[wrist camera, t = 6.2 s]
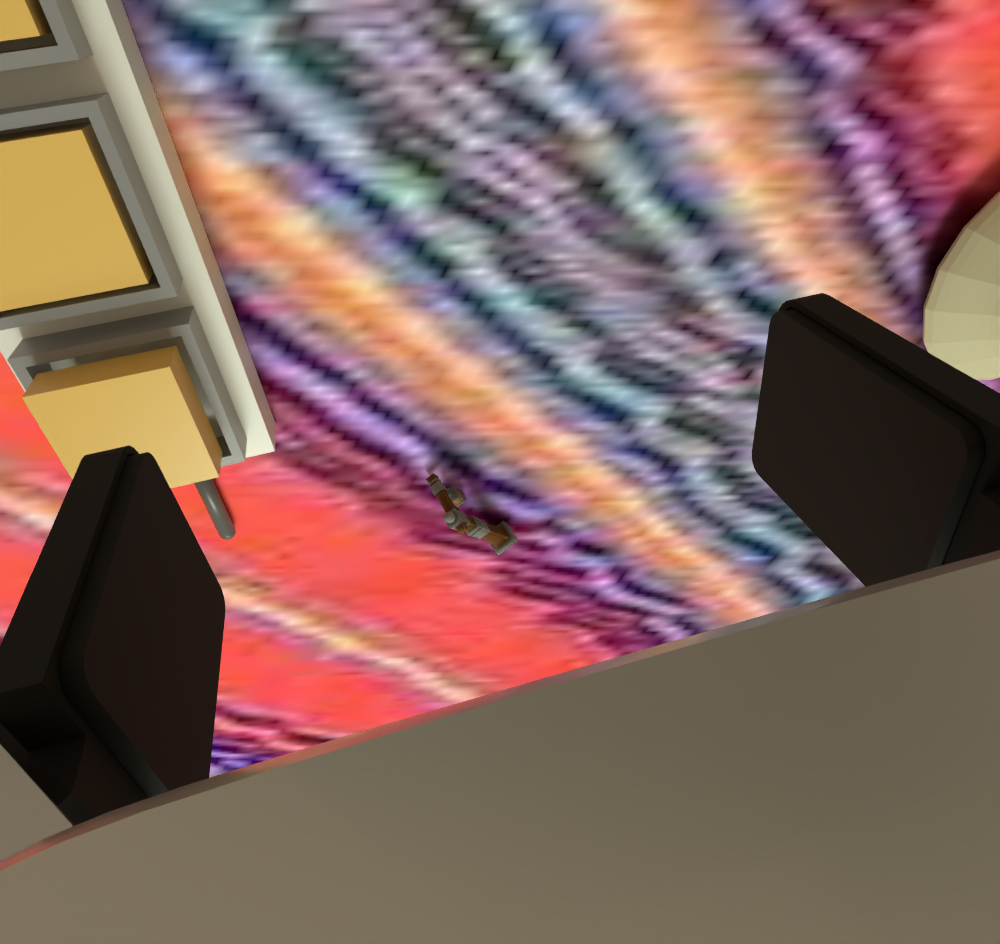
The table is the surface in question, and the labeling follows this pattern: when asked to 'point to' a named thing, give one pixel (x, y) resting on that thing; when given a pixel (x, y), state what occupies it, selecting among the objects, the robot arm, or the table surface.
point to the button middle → (63, 220)
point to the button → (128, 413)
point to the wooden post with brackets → (470, 518)
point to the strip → (157, 218)
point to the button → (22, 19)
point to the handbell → (968, 299)
